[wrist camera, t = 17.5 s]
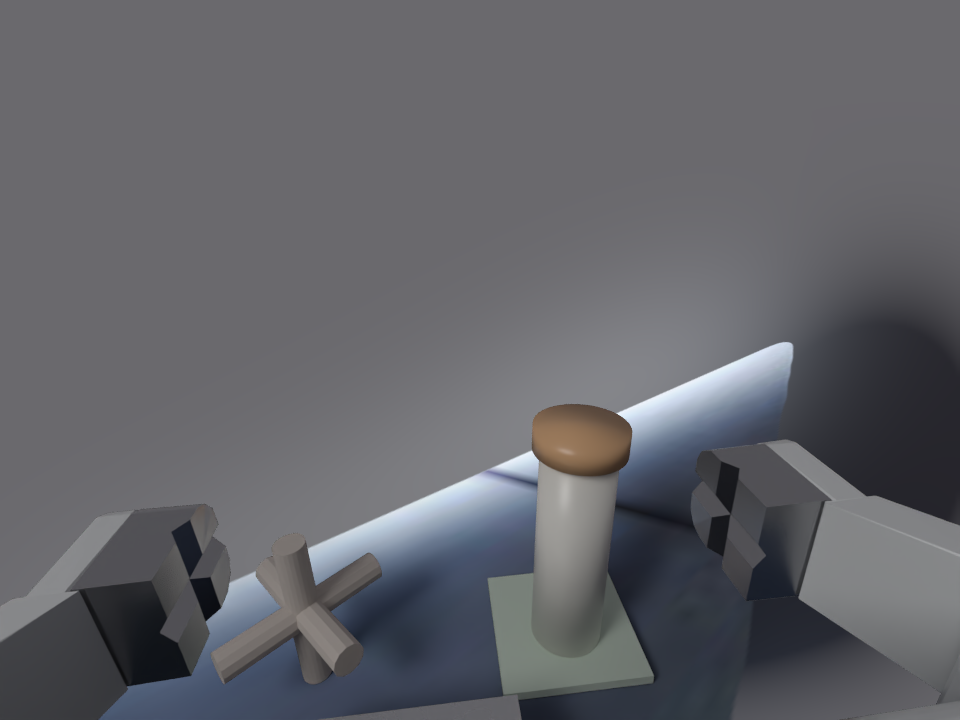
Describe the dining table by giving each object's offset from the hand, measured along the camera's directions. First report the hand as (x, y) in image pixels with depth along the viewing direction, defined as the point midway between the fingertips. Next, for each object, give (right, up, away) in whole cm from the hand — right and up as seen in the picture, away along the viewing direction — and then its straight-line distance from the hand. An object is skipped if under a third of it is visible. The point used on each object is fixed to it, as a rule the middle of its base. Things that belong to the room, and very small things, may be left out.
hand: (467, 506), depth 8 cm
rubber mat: (+6, -16, +25) cm, 30 cm away
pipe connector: (-10, -18, +23) cm, 31 cm away
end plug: (+6, -15, +24) cm, 29 cm away
